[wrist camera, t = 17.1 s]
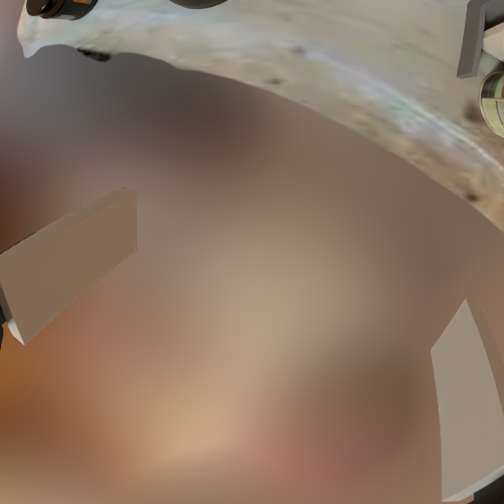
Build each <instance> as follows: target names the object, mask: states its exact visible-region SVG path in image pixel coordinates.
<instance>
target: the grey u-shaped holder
mask: <svg viewBox="0 0 504 504" xmlns="http://www.w3.org/2000/svg"><path fill="white" fill-rule="evenodd" d="M503 22H504V0H472V1H471V2H469V3H468V6H467V15H466V23H465V31H464V37H463V44H462V50H461V56H460V61H459V66H458V71H457V77H459V78H461V79H462V78H468V77H473V76H477V71H478V66H479V60H480V54H481V48H482V41H483V33H484V26H485V27H487V28H488V29H490V28H493V27H495V26H497V25H499V24H501V23H503Z"/></svg>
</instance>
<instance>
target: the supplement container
mask: <svg viewBox="0 0 504 504" xmlns="http://www.w3.org/2000/svg"><path fill="white" fill-rule="evenodd" d="M96 1H97V0H27V4H26V8H27V12H28V14H29V15H30V16H40V17H41V18H43V19H66V20H78V19H80V18H82V17H84V16H85V15H86V14H87V13H88V12H89V11H90V10H91V9H92V8H93V6H94V5H95V3H96Z"/></svg>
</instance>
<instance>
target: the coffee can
mask: <svg viewBox="0 0 504 504" xmlns="http://www.w3.org/2000/svg"><path fill="white" fill-rule="evenodd" d="M479 104H480V109H481V112H482V115H483V117H484V119H485V121H486V123H487V125H488V126H489V127H490V128H491V129H492V131H494V132H495V133H496V134H497V135H499V136H501V137H503V138H504V71H503V72H494V73H491V74H489V75H488V76H487V77H486V78H485V79H484V80H483V82H482V84H481V87H480V91H479Z"/></svg>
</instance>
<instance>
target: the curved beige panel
mask: <svg viewBox="0 0 504 504" xmlns="http://www.w3.org/2000/svg"><path fill="white" fill-rule="evenodd" d="M481 49H482V50H484V51H486V52H487V53H489V54H491V55H493V56H494V57H496V58H498V59H499V60H501V61H503V62H504V22H503V23H501V24H499V25H497V26H495V27H493V28H490V29H488V30H486V31H484V33H483V41H482V48H481Z"/></svg>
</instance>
